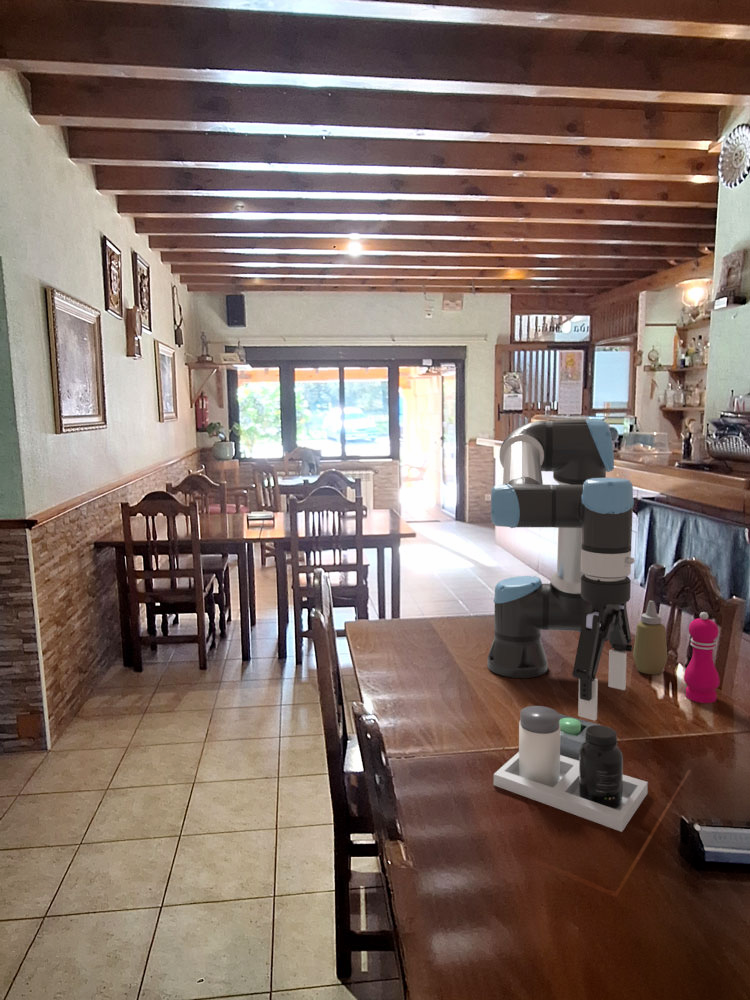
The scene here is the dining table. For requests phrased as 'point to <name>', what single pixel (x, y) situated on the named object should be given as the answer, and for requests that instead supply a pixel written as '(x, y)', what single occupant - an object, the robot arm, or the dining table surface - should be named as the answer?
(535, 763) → the lidded jar
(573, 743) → the grey button base
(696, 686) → the pepper mill
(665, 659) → the squeeze bottle
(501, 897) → the dining table surface
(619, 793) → the supplement bottle
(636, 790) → the tray
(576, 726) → the button
